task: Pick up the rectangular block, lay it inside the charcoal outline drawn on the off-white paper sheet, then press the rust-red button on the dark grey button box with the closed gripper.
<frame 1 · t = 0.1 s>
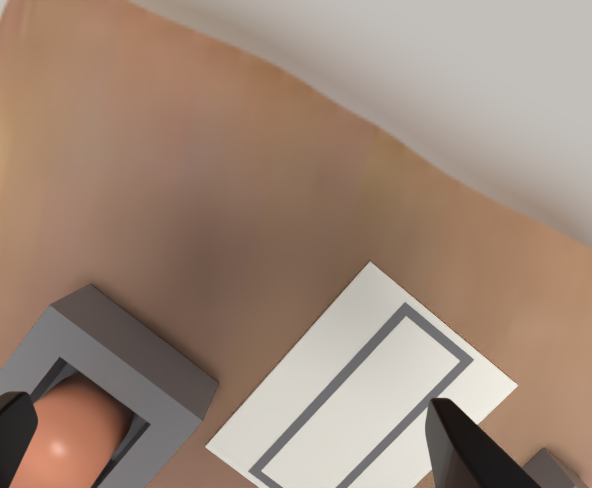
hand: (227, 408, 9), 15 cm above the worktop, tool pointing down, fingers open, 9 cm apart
paper sheet: (356, 415, 26), on the worktop
button housing: (109, 390, 26), on the worktop
done button: (69, 435, 22), point 5 cm above the worktop, slide at 0.0 cm
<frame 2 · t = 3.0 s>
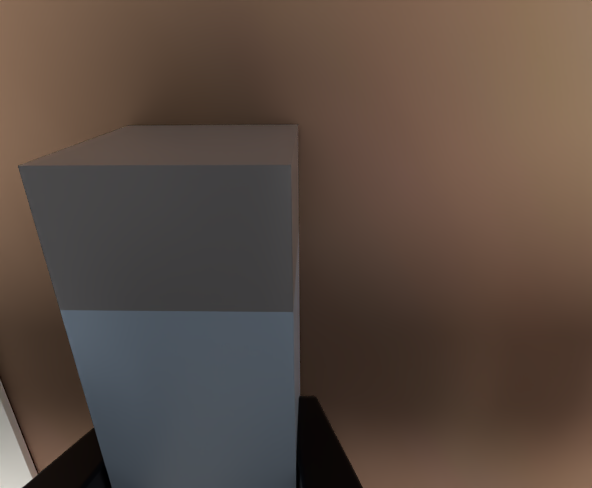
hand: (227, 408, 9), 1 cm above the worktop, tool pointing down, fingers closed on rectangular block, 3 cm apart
rectangular block: (235, 375, 10), on the worktop, touching gripper
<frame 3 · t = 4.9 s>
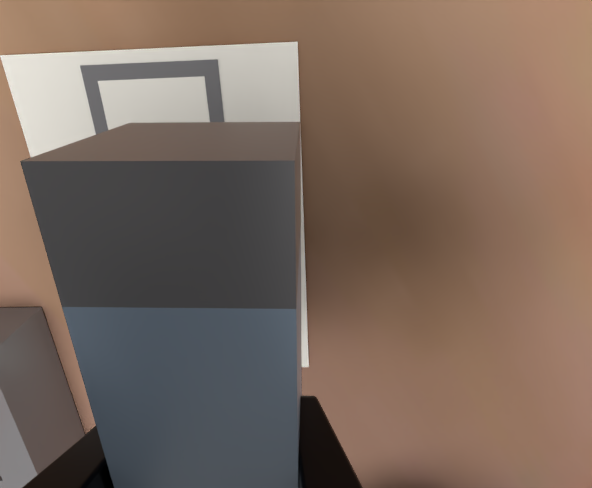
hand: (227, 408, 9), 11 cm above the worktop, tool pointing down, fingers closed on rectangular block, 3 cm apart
paper sheet: (179, 233, 20), on the worktop
rectangular block: (236, 373, 10), point 10 cm above the worktop, touching gripper
when the fingers open (3 cm above the worktop, at t = 7.0 s): rectangular block drops 1 cm, resting on paper sheet.
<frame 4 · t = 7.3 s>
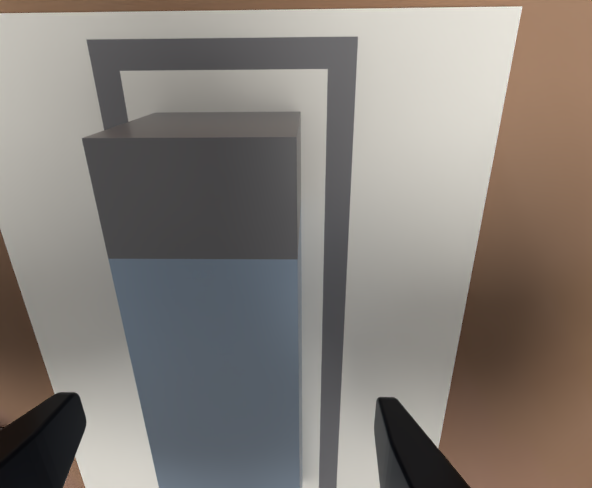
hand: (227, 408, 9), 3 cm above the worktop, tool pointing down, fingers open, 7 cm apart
paper sheet: (244, 331, 12), on the worktop
rectangular block: (244, 336, 11), resting on paper sheet
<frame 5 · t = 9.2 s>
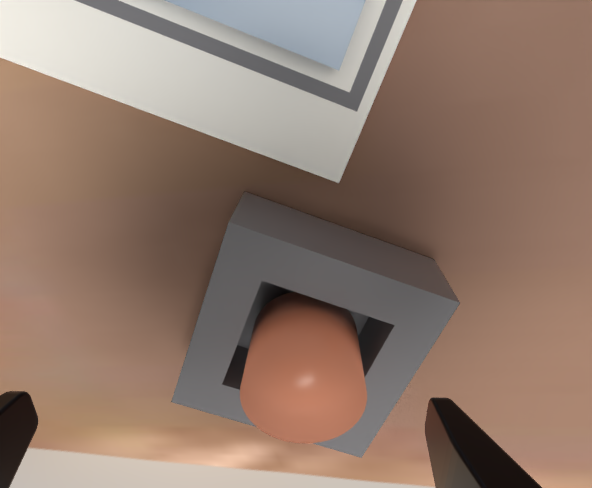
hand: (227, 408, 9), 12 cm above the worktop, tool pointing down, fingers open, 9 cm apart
button housing: (305, 306, 22), on the worktop
done button: (304, 363, 18), point 5 cm above the worktop, slide at 0.0 cm
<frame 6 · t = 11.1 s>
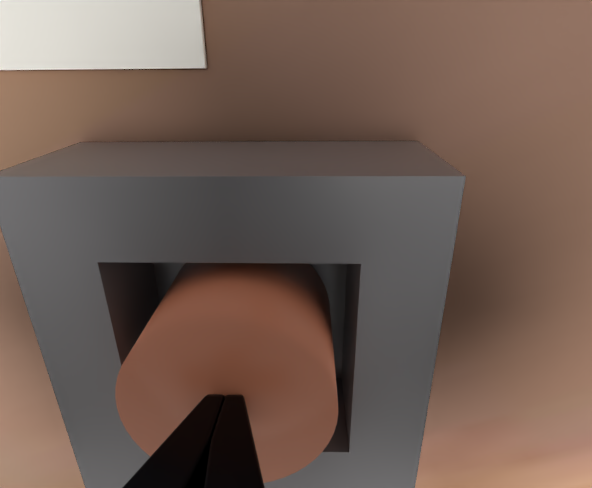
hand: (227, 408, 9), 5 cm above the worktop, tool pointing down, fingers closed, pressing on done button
button housing: (255, 288, 14), on the worktop
done button: (240, 352, 11), point 3 cm above the worktop, slide at 1.1 cm, touching gripper
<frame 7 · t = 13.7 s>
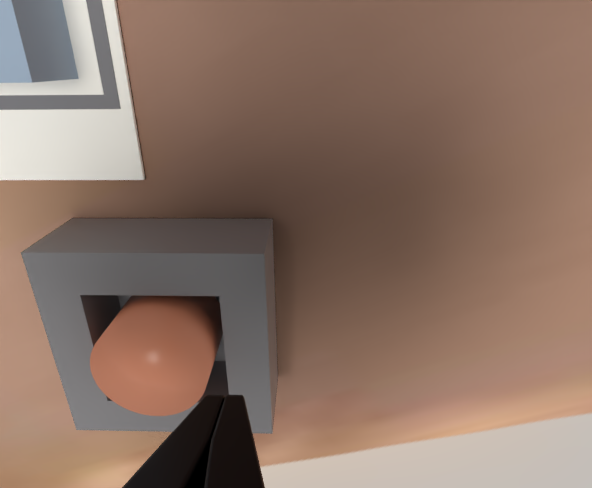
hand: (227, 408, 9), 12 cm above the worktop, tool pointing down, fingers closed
button housing: (183, 304, 22), on the worktop
done button: (164, 343, 19), point 3 cm above the worktop, slide at 1.2 cm
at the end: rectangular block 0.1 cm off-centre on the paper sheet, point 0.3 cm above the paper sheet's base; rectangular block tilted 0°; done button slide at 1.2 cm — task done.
